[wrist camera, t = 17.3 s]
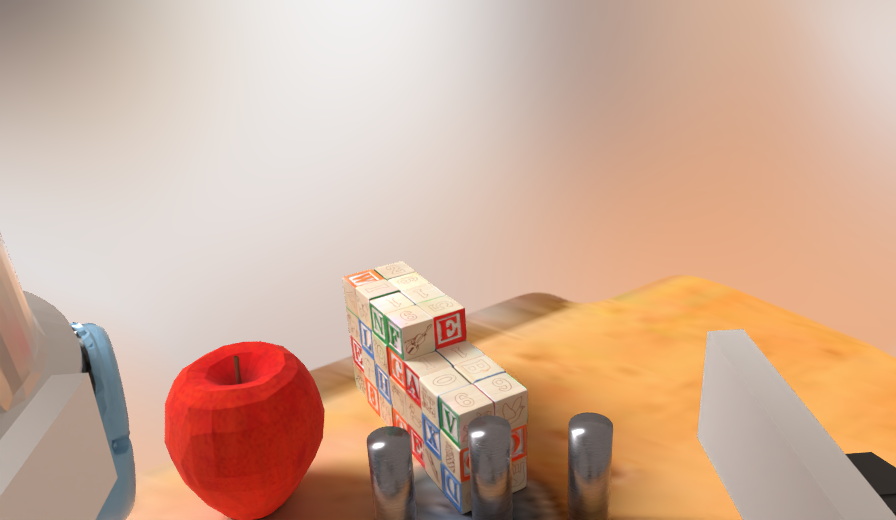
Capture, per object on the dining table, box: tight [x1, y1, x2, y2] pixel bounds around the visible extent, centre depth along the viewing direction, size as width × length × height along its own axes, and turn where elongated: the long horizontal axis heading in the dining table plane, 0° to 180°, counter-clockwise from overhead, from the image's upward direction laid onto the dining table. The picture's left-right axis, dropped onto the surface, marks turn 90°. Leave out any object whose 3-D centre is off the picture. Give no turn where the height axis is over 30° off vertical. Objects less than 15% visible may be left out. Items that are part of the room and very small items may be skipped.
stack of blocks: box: [342, 261, 528, 514], centre depth 66 cm, size 21×6×12 cm, turn 29°
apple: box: [165, 341, 324, 520], centre depth 58 cm, size 12×12×13 cm
